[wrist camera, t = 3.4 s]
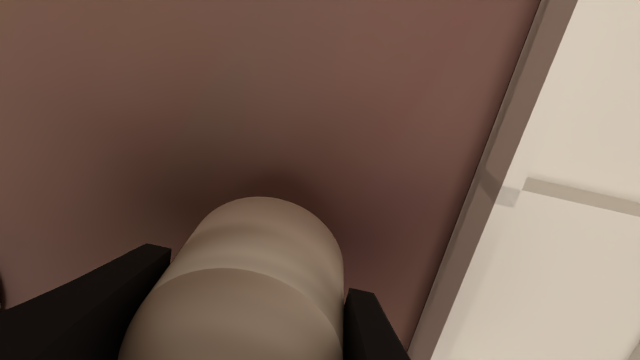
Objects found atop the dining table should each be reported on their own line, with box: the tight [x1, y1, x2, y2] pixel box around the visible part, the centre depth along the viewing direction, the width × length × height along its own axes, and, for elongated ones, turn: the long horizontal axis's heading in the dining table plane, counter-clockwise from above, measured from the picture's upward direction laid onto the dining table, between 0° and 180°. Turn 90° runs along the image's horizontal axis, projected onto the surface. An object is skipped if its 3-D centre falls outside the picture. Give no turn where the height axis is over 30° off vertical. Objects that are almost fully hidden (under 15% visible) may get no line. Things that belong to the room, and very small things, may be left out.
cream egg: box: [118, 197, 344, 360], centre depth 9 cm, size 4×4×6 cm
